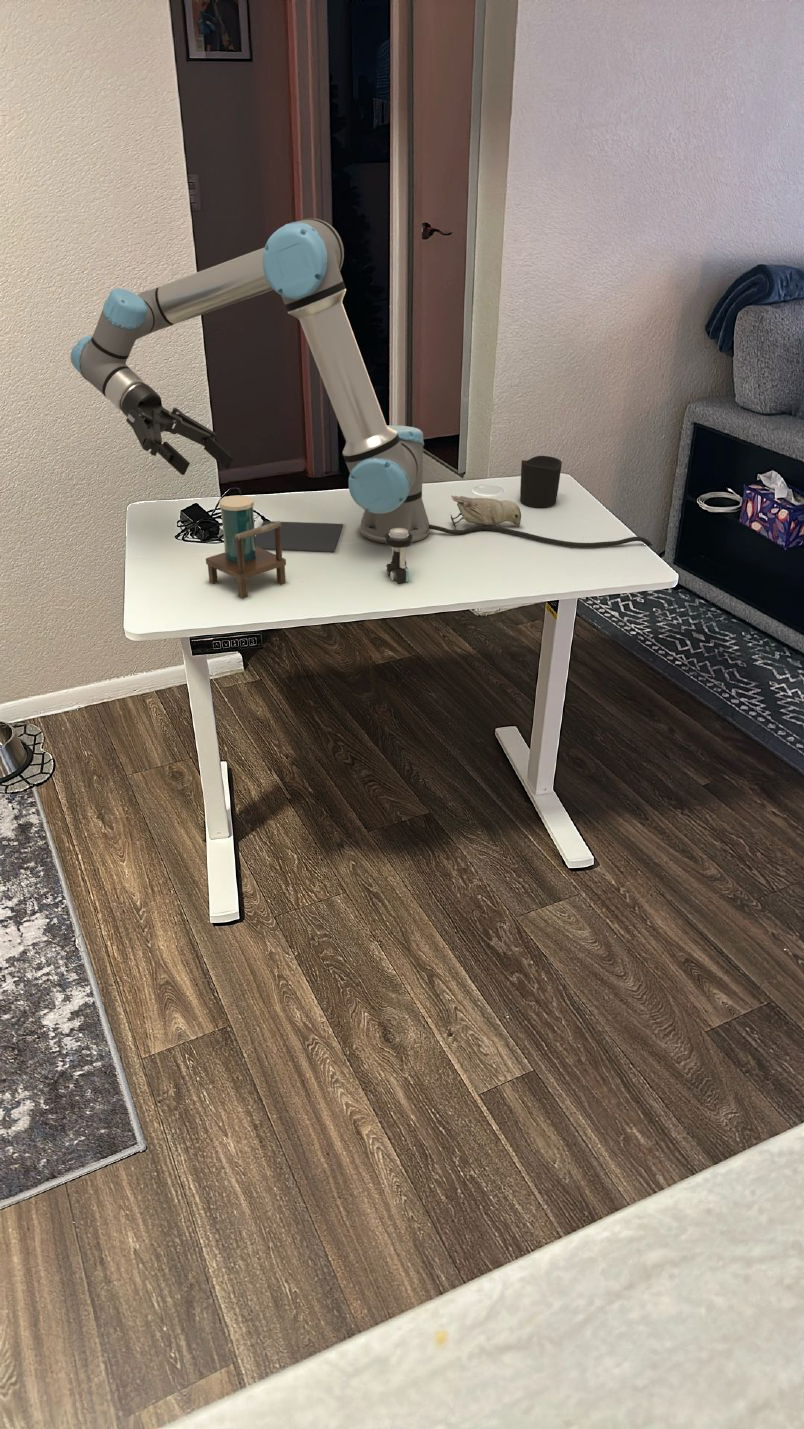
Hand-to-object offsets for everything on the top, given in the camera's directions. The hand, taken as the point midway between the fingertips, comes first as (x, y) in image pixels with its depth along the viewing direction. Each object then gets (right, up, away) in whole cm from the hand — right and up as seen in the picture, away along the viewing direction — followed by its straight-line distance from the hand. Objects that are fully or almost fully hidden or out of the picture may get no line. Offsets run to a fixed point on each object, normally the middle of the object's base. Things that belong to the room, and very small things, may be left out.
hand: (208, 466), depth 185 cm
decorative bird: (+56, -6, +29) cm, 64 cm away
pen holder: (+70, +3, +44) cm, 83 cm away
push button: (+37, -21, +5) cm, 43 cm away
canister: (+6, -18, 0) cm, 19 cm away
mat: (+15, -10, +23) cm, 29 cm away
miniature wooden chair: (+7, -22, +2) cm, 24 cm away
